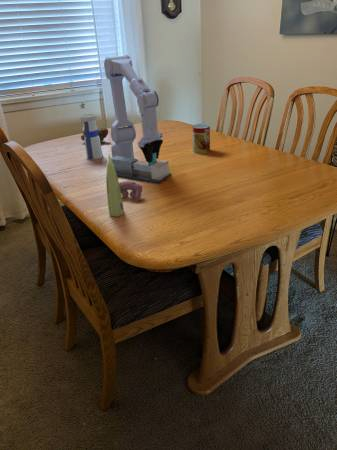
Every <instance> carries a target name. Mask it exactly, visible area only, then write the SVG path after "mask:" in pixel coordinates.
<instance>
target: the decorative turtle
mask: <svg viewBox="0 0 337 450" xmlns="http://www.w3.org/2000/svg"><path fill="white" fill-rule="evenodd" d="M97 130H98V135H99V138H100V143H101V144H102V143H103V142H104V140H105V138H107V136H108V135H109V130H108V129H107V127H103V128H101V129H100V128H98V129H97ZM84 138H85V136H84V135H83V134H82V135H80V139H81V140H82V141H84ZM102 141H103V142H102ZM84 142H85V141H84Z"/></svg>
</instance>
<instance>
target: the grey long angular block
mask: <svg viewBox="0 0 337 450" xmlns="http://www.w3.org/2000/svg"><path fill="white" fill-rule="evenodd" d="M111 159H112V162H113V165H114V168H115V171H116V174H117V178H122V179H127V180H132V181H140V182H143V183H149V184H155V185H160V184H161V183H163V182H164V181H165V180H167V179H169V178H170V177H171V176H172V172H169V175H168V176H166V177H165V178H163V179H162V180H156V179H152V175H151V172H145V171H139V170H133V169H132V164H131V163H132V162H134V161H137V162H138V160H137V159H138V158H135V157H134V158H129V157H122V156H114V157H112V156H111Z"/></svg>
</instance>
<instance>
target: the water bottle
mask: <svg viewBox="0 0 337 450" xmlns="http://www.w3.org/2000/svg"><path fill="white" fill-rule="evenodd" d="M85 105H86V103H84V102H83V101H81V104H79V107H80V109H81V110H82V109H86V108H85ZM98 119H99V117H98V115H97V114H96V113H86V114H84V115H83V116H82V117H81V116H79V121H80V124H82V123H83V127H82V135H84V136H85V138H84V145H85V156H86V159H87V158H88V159H87V160H99V159H101V158H103V157H104V155H103V150H102V143H100V138H99V135H98V130H97V129H99V127H98V125H97V120H98ZM102 156H103V157H102ZM98 158H99V159H98Z"/></svg>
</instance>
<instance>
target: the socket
mask: <svg viewBox="0 0 337 450" xmlns="http://www.w3.org/2000/svg"><path fill="white" fill-rule="evenodd" d="M169 173H170V167H169V161H167V160H157V162H156V163H154V164H153V165H151V175H152V179H156V180H162V179H163V178H165V177H166V176H168V175H169Z"/></svg>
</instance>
